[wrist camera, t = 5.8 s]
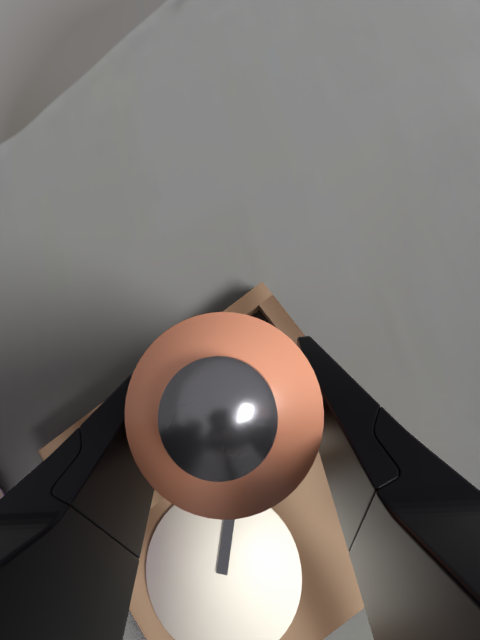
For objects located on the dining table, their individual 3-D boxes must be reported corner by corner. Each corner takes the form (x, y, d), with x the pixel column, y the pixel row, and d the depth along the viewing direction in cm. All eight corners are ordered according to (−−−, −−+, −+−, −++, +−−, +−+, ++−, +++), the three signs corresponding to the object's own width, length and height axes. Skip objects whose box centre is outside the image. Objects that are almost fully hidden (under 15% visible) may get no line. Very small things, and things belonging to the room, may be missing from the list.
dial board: (208, 684, 19) (198, 739, 17) (63, 440, 22) (34, 452, 19) (436, 510, 19) (465, 537, 17) (262, 289, 22) (262, 280, 20)
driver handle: (269, 427, 16) (281, 581, 5) (198, 396, 16) (75, 477, 6) (297, 354, 16) (362, 354, 5) (226, 326, 16) (161, 277, 6)
